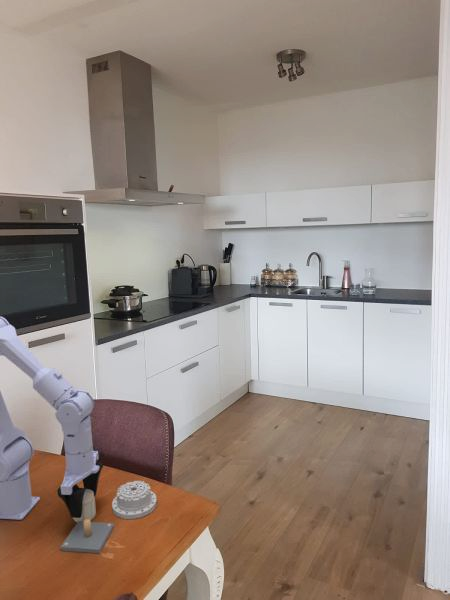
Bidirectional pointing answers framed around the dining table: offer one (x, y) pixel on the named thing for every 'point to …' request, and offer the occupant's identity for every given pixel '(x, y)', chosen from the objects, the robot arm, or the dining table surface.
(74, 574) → the dining table surface
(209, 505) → the dining table surface
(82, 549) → the plate
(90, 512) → the wire nut
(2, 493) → the robot arm
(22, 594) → the dining table surface
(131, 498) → the mechanical component
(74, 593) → the dining table surface
